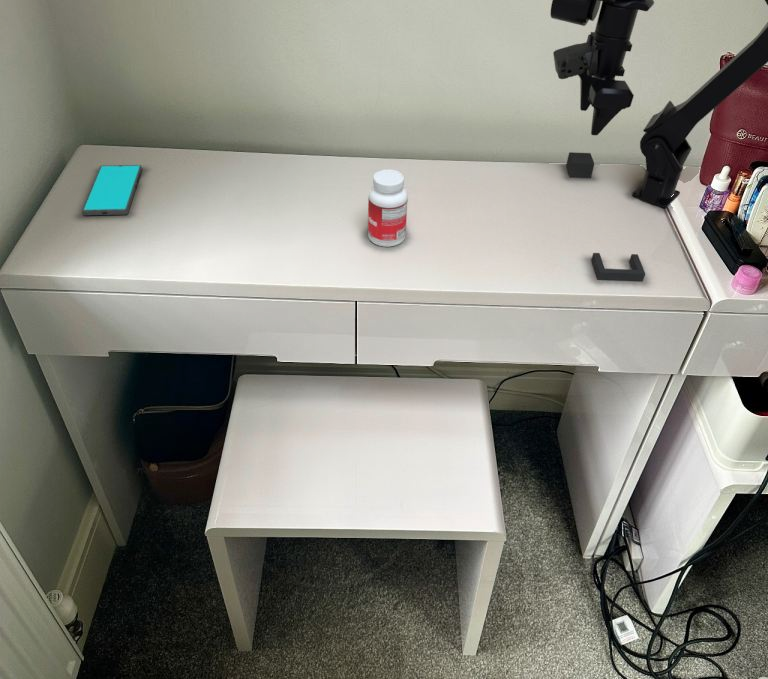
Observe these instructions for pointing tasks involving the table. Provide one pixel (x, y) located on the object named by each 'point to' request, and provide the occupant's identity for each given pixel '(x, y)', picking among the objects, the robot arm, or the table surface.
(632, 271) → the black u-shaped bracket
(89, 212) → the smartphone
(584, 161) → the dark grey block
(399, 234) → the pill bottle
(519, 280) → the table surface
